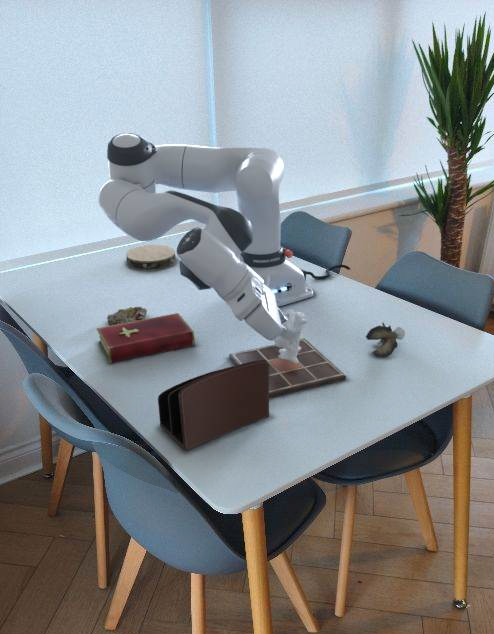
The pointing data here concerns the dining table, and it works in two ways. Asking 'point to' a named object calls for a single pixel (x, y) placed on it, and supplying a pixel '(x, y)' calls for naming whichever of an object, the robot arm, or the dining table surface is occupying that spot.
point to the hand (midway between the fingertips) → (288, 330)
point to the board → (292, 368)
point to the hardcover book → (145, 337)
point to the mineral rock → (127, 315)
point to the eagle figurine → (385, 339)
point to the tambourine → (150, 257)
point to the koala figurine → (292, 345)
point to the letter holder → (215, 403)
